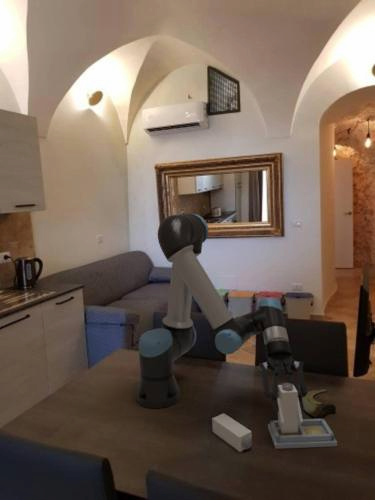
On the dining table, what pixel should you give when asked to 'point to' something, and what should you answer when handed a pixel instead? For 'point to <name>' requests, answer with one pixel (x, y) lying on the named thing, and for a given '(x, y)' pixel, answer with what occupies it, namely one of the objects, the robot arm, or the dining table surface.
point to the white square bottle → (288, 407)
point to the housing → (303, 435)
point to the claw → (317, 405)
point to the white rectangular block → (232, 432)
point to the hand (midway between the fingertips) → (291, 423)
